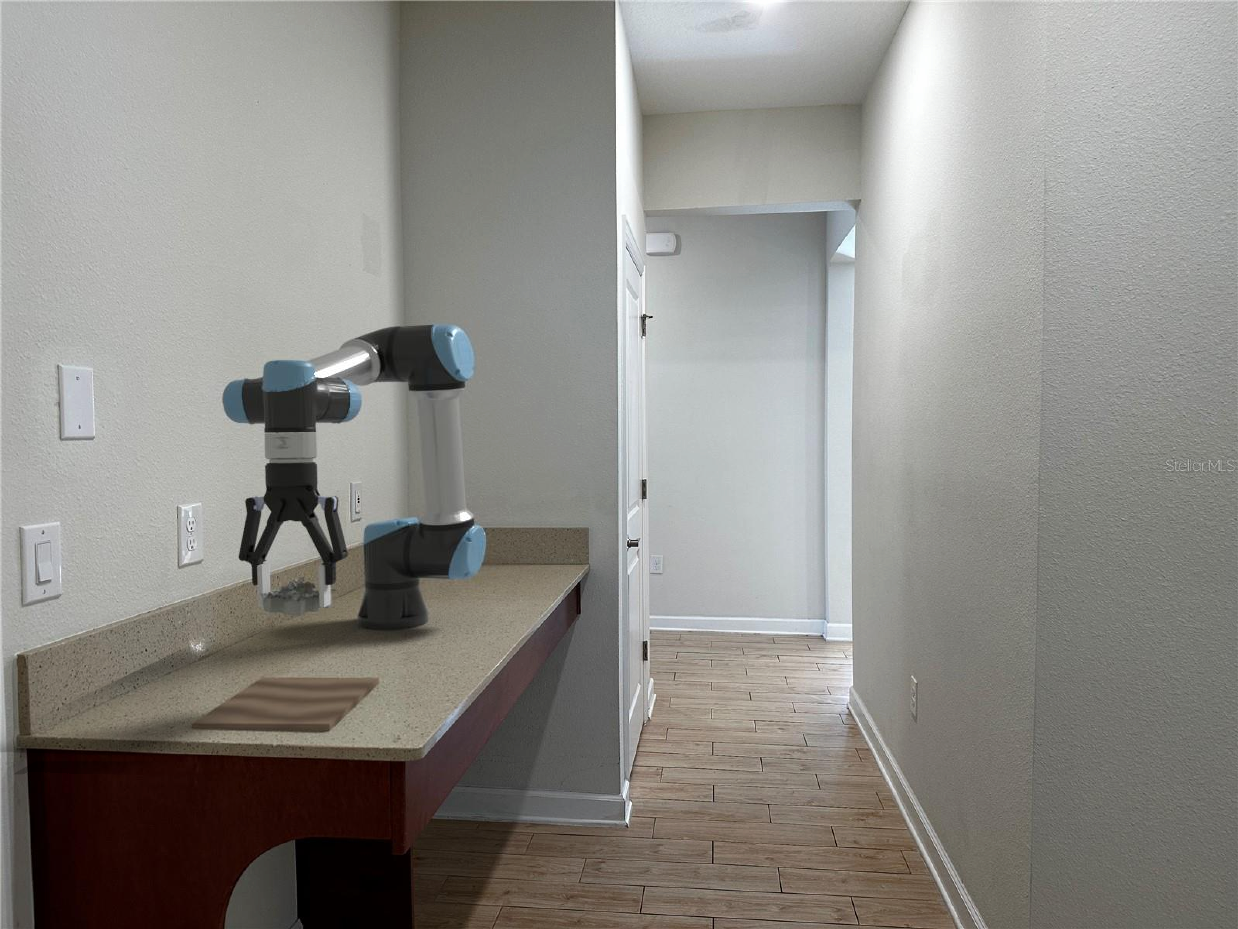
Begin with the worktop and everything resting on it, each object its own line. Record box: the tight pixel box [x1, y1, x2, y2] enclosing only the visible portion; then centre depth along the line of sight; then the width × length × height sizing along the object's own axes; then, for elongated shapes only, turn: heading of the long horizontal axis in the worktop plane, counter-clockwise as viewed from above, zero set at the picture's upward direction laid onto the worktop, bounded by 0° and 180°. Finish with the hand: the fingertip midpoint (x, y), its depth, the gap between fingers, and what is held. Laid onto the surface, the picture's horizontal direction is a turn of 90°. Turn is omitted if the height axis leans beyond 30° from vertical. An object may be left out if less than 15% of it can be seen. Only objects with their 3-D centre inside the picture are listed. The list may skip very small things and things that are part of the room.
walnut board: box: [191, 677, 380, 732], centre depth 133 cm, size 22×20×1 cm
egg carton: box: [260, 576, 337, 617], centre depth 133 cm, size 11×8×4 cm
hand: (294, 605), depth 133 cm, fingers closed on egg carton, 9 cm apart
